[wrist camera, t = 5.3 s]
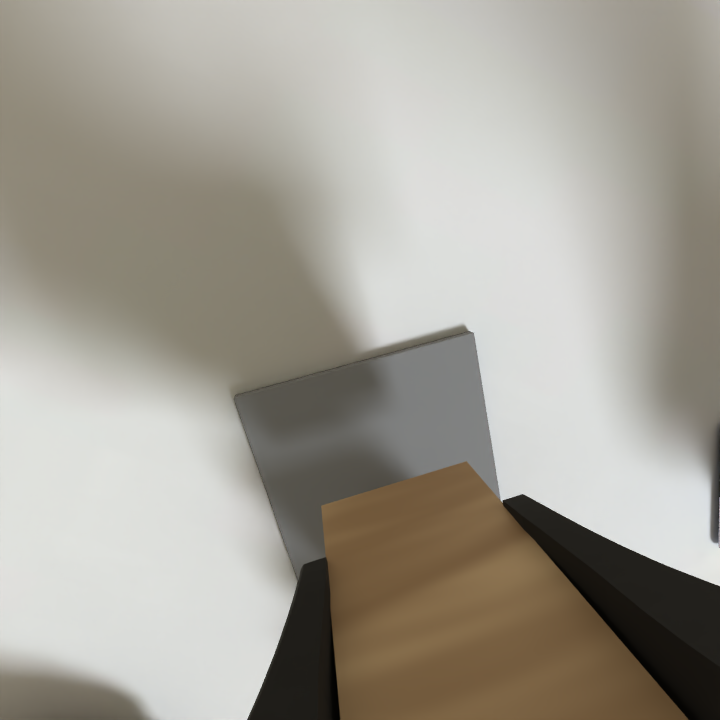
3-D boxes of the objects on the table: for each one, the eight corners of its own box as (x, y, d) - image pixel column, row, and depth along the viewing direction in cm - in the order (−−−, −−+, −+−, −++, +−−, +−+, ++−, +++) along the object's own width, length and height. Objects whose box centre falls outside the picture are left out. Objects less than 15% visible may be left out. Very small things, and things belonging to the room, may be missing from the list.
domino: (321, 505, 12) (357, 910, 5) (466, 461, 13) (724, 760, 5) (333, 545, 13) (386, 977, 5) (473, 501, 13) (721, 834, 5)
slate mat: (469, 331, 16) (473, 332, 16) (539, 764, 23) (544, 772, 23) (235, 395, 15) (233, 399, 15) (385, 823, 23) (386, 833, 22)
